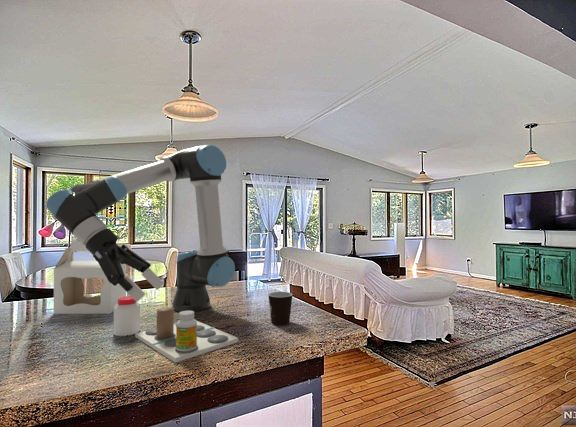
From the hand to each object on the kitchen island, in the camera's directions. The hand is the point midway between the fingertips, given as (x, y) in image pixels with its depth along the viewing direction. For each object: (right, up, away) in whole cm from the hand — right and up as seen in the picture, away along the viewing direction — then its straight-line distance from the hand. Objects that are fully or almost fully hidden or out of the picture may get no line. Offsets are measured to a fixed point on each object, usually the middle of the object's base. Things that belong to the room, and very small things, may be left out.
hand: (151, 291), depth 91 cm
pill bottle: (-15, -17, +17) cm, 29 cm away
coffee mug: (+35, -17, +28) cm, 48 cm away
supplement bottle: (+9, -16, 0) cm, 18 cm away
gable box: (-42, -18, +44) cm, 63 cm away
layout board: (+6, -17, +10) cm, 21 cm away
